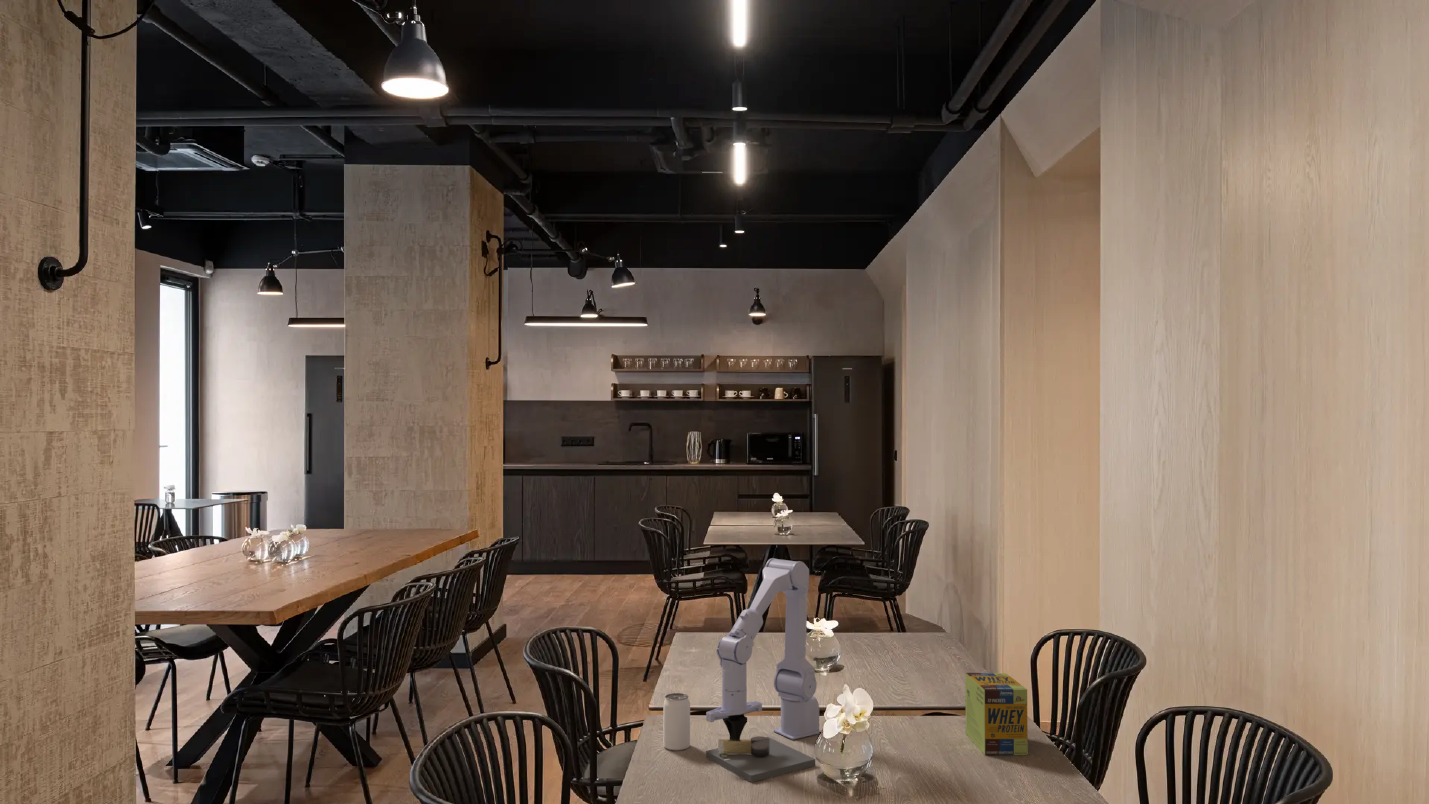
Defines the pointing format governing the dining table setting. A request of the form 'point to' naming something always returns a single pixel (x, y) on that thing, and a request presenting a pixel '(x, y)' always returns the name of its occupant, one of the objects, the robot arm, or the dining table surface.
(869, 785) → the dining table surface
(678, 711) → the can
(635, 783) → the dining table surface
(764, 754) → the brown bar with cylinder
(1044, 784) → the dining table surface
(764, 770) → the dial board
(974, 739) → the protein box
